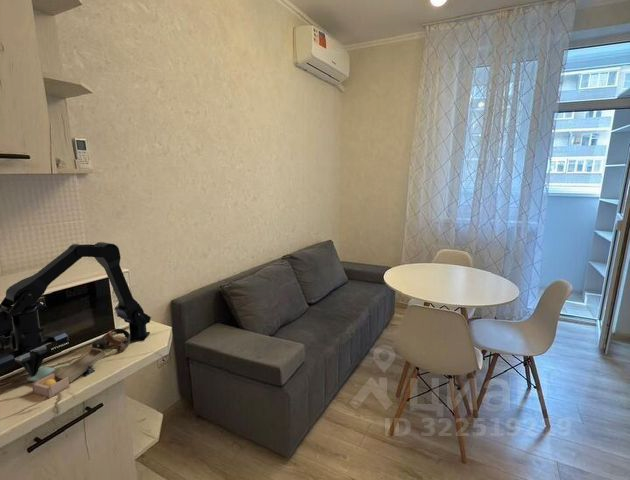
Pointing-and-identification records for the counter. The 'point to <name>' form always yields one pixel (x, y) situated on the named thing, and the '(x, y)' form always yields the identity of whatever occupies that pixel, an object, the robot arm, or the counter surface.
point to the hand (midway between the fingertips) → (33, 375)
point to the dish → (50, 387)
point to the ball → (49, 382)
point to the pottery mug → (112, 340)
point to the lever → (71, 367)
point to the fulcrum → (88, 372)
